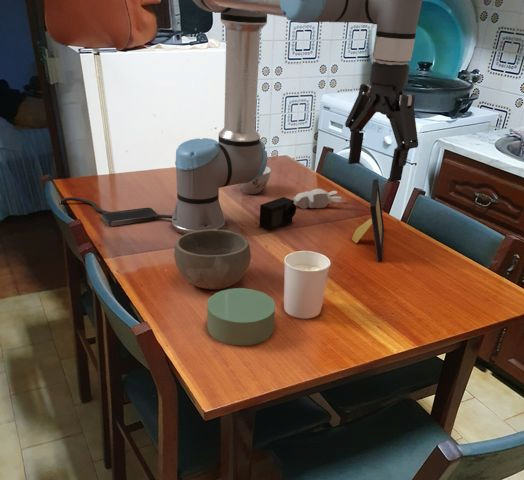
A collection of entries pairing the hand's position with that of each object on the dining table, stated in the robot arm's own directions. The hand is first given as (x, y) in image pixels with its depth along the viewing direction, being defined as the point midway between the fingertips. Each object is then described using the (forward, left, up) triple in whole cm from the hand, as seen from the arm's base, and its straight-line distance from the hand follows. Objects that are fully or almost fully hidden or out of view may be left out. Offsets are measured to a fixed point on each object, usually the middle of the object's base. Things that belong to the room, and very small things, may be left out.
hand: (373, 171), depth 119 cm
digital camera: (-30, +25, -27) cm, 48 cm away
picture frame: (-3, +26, -27) cm, 38 cm away
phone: (-70, +8, -27) cm, 76 cm away
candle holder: (-7, -18, -27) cm, 34 cm away
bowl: (-31, -15, -27) cm, 44 cm away
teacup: (-50, +50, -27) cm, 76 cm away
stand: (-17, -31, -27) cm, 45 cm away
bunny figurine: (-25, +47, -27) cm, 60 cm away
